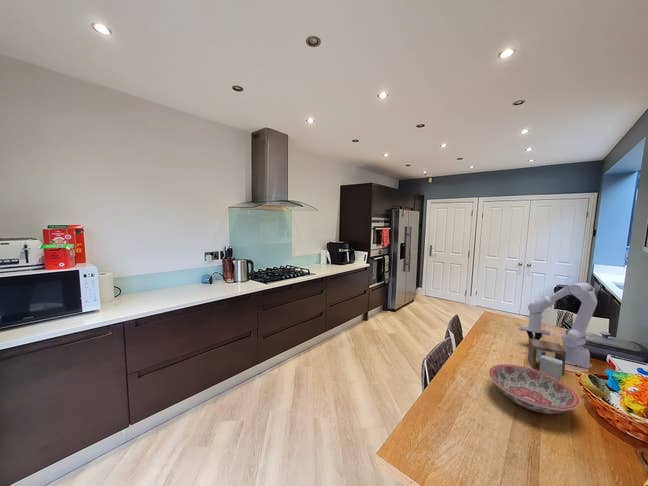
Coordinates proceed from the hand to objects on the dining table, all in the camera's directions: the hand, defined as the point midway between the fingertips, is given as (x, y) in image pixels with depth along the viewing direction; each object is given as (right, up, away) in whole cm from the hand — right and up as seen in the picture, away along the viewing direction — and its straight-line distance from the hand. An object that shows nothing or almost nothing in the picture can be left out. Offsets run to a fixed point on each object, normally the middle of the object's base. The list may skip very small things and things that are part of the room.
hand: (533, 343), depth 153 cm
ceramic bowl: (-41, -6, -47) cm, 63 cm away
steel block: (-3, -2, -6) cm, 7 cm away
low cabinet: (-12, -3, -21) cm, 25 cm away
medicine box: (-16, -4, -29) cm, 34 cm away
